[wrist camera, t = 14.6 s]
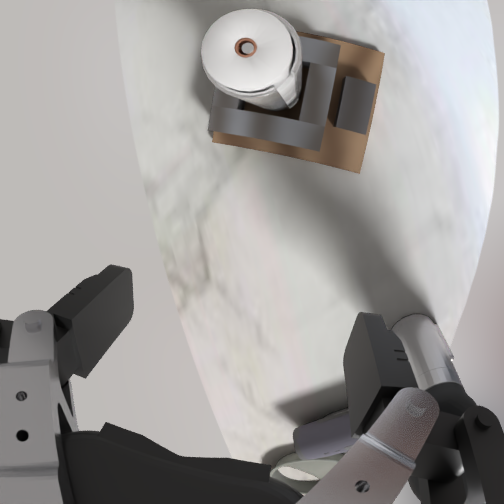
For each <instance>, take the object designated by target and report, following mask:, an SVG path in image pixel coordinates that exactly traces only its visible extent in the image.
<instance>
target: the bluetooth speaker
mask: <svg viewBox="0 0 504 504" xmlns="http://www.w3.org/2000/svg"><path fill="white" fill-rule="evenodd" d="M293 440H294V446H295V451H296V453H297V455H298V457H299V458H300V459H302V460H311V459H317V458H322V457H327V456H332V455H336V454H340V453H344V452H347V451H348V450H349V449H350V448H351V447H352V446H353V445H354V444H355V443H356V441H357V440H358V439H356V438H351V428H350V418H349V408H346V409H343V410H340V411H337V412H334V413H331V414H329V415H327V416H326V417H325V418H322V419H319V420H317V421H314V422H311V423H308V424H305V425H302V426H300V427H298V428H296V429H295V430H294V432H293Z"/></svg>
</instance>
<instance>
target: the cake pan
mask: <svg viewBox="0 0 504 504" xmlns="http://www.w3.org/2000/svg"><path fill="white" fill-rule="evenodd" d="M343 456H344V455H342V454H336V455H332V456H327V457H322V458H317V459H311V460H302V459H300V458H299V457H298V455H297V453H292V454H289V455H287V456H285V457H283V458H282V459H280V460H279V461H278V463H277V465H276V467H275V468H274V469H272V471H271V472H270V477H273V478H275V479H278V480H280V481H282V482H284V483H286V484H288V485H290V486H291V487H293V488H294V489H296V490H297V491H298V492H300V493H301V494H307V493H308V492H309V491H310V490H311V489H312V488H313V487H314V486H315V485H316V484H317V483H318V482H319V481H320V480H321V479H322V478H323V477H324V476H325V475H326V474H327V473H328V472H329V471H330V470H331V469H332V468H333V467H334V466H335V465H336V464H337V463H338V461H339V460H340V459H341V458H342V457H343ZM283 466H287V467H292V468H294V469H298V470H301V471H303V472H306V473H308V474H311V475H314V476H315V477H317V478H318V479H319V481H317V482H305V481H297V480H293V479H290V478H288V477H285V476H284V475H282V474H281V473H280V472H279V471H278V469H279V468H281V467H283Z"/></svg>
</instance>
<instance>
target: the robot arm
mask: <svg viewBox="0 0 504 504" xmlns="http://www.w3.org/2000/svg"><path fill="white" fill-rule="evenodd" d="M133 309H134V301H133V283H132V272H131V270H130V269H129V268H125V267H120V266H116V265H109V266H108V267H106V268H105V269H104V270H103V271H102V272H100V273H99V274H98V275H94V276H91V277H89V278H86V279H84V280H83V281H82V282H81V283H79V284H78V285H77V286H76V288H73V289H72V290H71V291H70V292H69V294H66V295H65V296H64V297H63V298H61V299H60V300H59V301H58V302H57V303H56V304H54V305H53V306H52V307H51V308H50V309H49V310H48V311H43V310H31V311H27V312H25V313H23V314H21V315H19V316H18V317H17V318H16V319H15V321H9V320H1V319H0V504H392V503H393V502H394V500H395V499H396V498H397V496H398V494H399V493H400V491H401V490H402V488H403V487H404V485H405V484H406V482H407V480H408V481H409V484H410V487H411V489H412V491H413V492H414V494H415V495H416V496H417V498H418V499H419V500H420V501H421V504H504V433H503V430H502V427H501V425H500V422H499V420H498V418H497V417H496V415H495V414H494V413H493V412H491V411H490V410H489V409H487V408H485V407H482V406H477V405H476V403H475V402H474V401H473V399H472V398H470V397H469V396H468V395H467V394H466V392H465V390H464V388H463V385H462V383H461V381H460V378H459V376H458V374H457V372H456V370H455V367H454V365H453V363H452V361H453V359H454V356H453V354H452V352H451V350H450V348H449V346H448V344H447V342H446V340H445V338H444V336H443V334H442V332H441V330H440V328H439V326H438V325H437V324H434V323H433V322H432V320H431V319H430V318H429V317H427V316H425V315H422V314H414V315H409V316H407V317H405V318H403V319H401V320H400V321H398V322H397V323H396V324H395V325H394V326H393V328H392V329H391V331H390V330H387V329H386V326H385V323H384V321H383V318H382V316H381V315H378V314H371V313H365V312H360V313H359V314H358V316H357V318H356V321H355V324H354V326H353V329H352V332H351V335H350V338H349V340H348V343H347V346H346V349H345V353H344V359H343V366H344V374H345V382H346V390H347V399H348V408H349V418H350V428H351V438H356V439H358V440H357V441H356V443H355V444H354V445H353V446H352V447H351V448H350V449H349V450H348V452H347V453H346V454H345V455H344V456H343V457H342V458H341V459H340V460H339V461H338V463H337V464H336V465H335V466H334V467H333V468H332V469H331V470H330V471H329V472H328V473H327V474H326V475H325V476H324V477H323V478H322V479H321V480H320V481H319V482H318V483H317V484H316V485H315V486H314V487H313V488H312V489H311V490H310V491H309V492H308V493H307V494H306V495H305V496H303V495H302V494H301V493H300V492H298V491H297V490H296V489H294V488H293V487H291V486H290V485H288V484H286V483H284V482H282V481H280V480H278V479H275V478H273V477H270V471H271V465H266V464H259V463H253V462H247V461H242V460H236V459H231V458H201V457H182V456H179V455H177V454H175V453H173V452H171V451H169V450H168V449H166V448H164V447H162V446H160V445H159V444H157V443H155V442H153V441H152V440H150V439H148V438H146V437H145V436H143V435H141V434H137V433H135V432H132V431H129V430H126V429H123V428H121V427H118V426H115V425H113V424H110V423H107V422H106V423H105V424H104V426H103V428H102V429H101V431H100V432H99V431H79V429H78V425H77V419H76V414H75V407H74V401H73V394H72V386H71V382H70V377H71V376H72V374H76V375H78V376H81V377H83V378H86V377H87V376H88V374H89V373H90V372H91V371H92V369H93V368H94V367H95V366H96V364H97V363H98V362H99V360H100V359H101V358H102V356H103V355H104V354H105V352H106V351H107V350H108V349H109V347H110V346H111V345H112V343H113V342H114V341H115V340H116V338H117V337H118V336H119V335H120V333H121V332H122V331H123V329H124V328H125V327H126V326H127V324H128V323H129V321H130V320H131V318H132V315H133Z"/></svg>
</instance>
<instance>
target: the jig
mask: <svg viewBox="0 0 504 504" xmlns="http://www.w3.org/2000/svg"><path fill="white" fill-rule="evenodd" d="M296 32H297V31H296ZM297 34H298V36H299V38H300V41H301V46H302V87H301V95H300V98H299V100H298V102H297V103H296V104H295V105H294V106H293V107H292V108H290V109H288V110H286V111H281V112H274V111H270V110H267V109H264V108H262V107H259V106H257V105H254V104H252V103H249V102H246V101H244V100H241V99H238V98H236V97H233V96H230V95H228V94H226V93H224V92H223V91H221V90H219V89H218V88H216V87H215V90H214V96H213V102H212V108H211V114H210V120H209V126H208V130H209V131H214V133H213V140H212V142H214V143H220V144H226V145H232V146H238V147H244V148H249V149H254V150H260V151H265V152H270V153H275V154H280V155H284V156H289V157H294V158H298V159H303V160H307V161H311V162H316V163H320V164H324V165H328V166H332V167H336V168H340V169H344V170H348V171H352V172H355V173H359V174H360V170H361V166H362V162H363V158H364V153H365V149H366V145H367V141H368V136H369V132H370V127H371V123H372V118H373V113H374V108H375V104H376V99H377V93H378V88H379V83H380V78H381V72H382V66H383V61H384V55H385V53H382V52H379V51H376V50H372V49H369V48H365V47H362V46H358V45H355V44H351V43H347V42H343V41H339V40H335V39H331V38H327V37H322V36H318V35H313V34H308V33H303V32H297Z"/></svg>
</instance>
